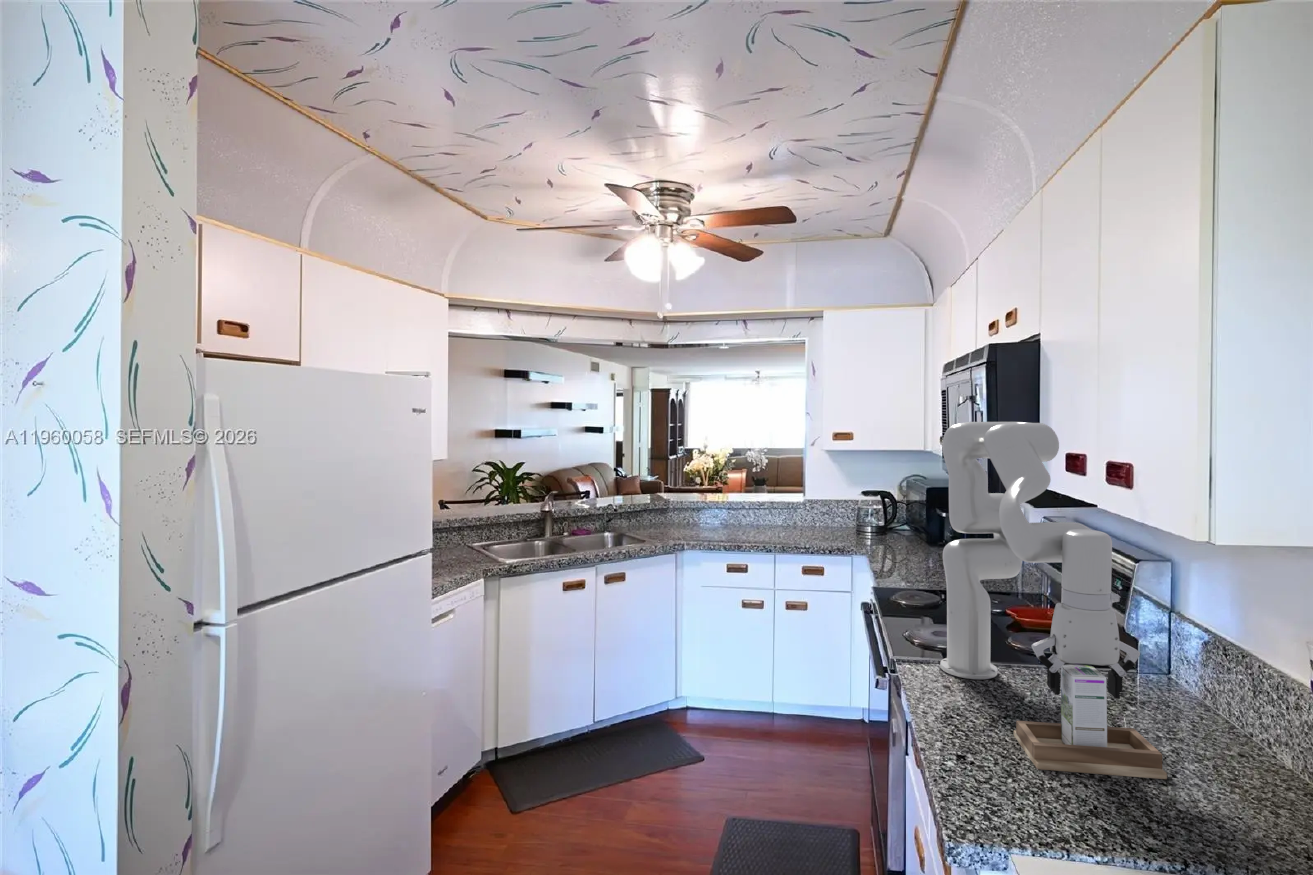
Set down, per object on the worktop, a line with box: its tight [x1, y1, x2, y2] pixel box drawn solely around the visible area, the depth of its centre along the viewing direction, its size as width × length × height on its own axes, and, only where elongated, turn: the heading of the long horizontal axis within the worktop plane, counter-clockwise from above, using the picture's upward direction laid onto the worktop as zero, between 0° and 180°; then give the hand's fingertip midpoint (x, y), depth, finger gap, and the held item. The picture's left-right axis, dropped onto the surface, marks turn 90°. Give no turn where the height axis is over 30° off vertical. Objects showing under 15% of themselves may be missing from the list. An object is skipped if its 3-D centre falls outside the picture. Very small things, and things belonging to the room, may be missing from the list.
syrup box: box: [1060, 664, 1108, 747], centre depth 125 cm, size 6×6×14 cm
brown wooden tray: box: [1013, 720, 1168, 780], centre depth 125 cm, size 13×20×4 cm, turn 79°
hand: (1083, 693), depth 125 cm, fingers open, 9 cm apart
